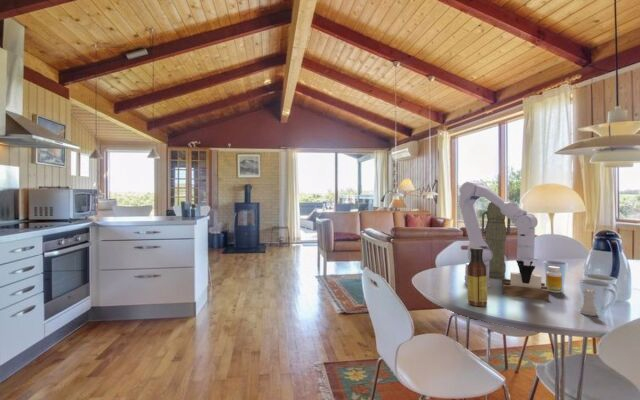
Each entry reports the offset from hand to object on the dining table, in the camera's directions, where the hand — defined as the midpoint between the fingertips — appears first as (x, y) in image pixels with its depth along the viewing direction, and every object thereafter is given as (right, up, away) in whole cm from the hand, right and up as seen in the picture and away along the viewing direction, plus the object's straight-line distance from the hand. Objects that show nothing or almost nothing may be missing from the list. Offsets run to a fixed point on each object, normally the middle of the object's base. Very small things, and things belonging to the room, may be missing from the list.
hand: (524, 280), depth 134 cm
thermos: (+3, -5, +30) cm, 31 cm away
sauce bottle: (-24, -6, -12) cm, 28 cm away
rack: (+1, -5, +3) cm, 6 cm away
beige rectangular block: (0, -4, 0) cm, 4 cm away
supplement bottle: (+15, -6, +6) cm, 17 cm away
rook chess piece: (+9, -6, -21) cm, 23 cm away
